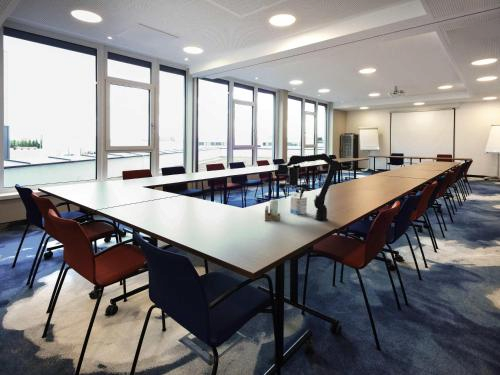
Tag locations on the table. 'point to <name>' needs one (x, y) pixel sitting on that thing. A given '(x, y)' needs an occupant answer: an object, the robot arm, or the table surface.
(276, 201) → the pale green tapered cylinder
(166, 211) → the table surface
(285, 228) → the table surface
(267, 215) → the holder
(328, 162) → the robot arm
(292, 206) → the ink box
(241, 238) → the table surface
